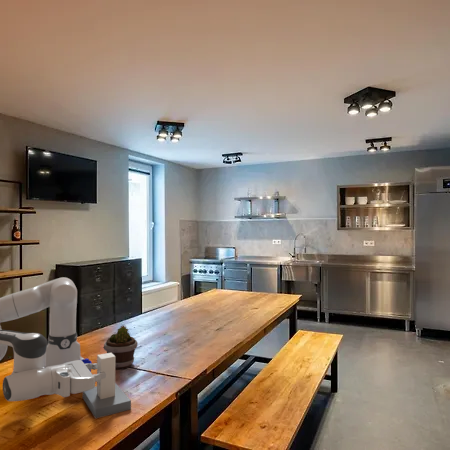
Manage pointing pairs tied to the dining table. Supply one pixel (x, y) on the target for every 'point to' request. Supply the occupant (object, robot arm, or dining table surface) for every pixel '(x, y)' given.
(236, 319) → the dining table surface
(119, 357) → the flowerpot
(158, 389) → the dining table surface
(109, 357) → the block
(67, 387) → the robot arm
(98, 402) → the block
